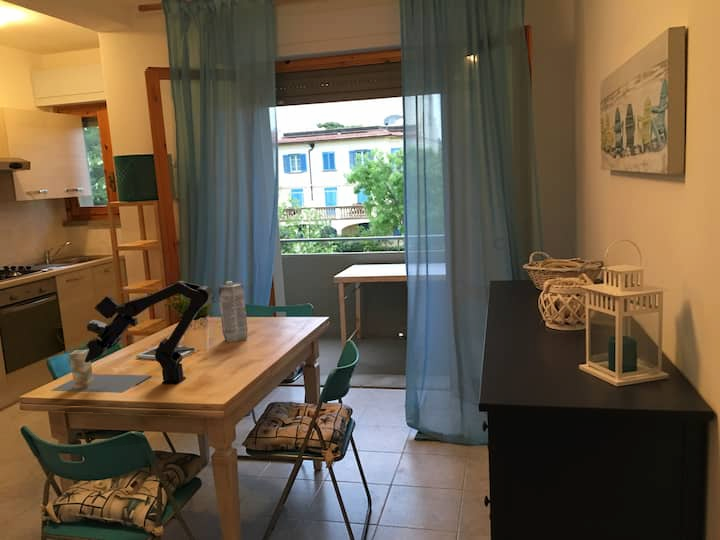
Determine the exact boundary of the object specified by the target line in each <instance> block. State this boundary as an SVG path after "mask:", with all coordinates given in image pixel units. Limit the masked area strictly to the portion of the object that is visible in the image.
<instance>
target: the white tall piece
mask: <svg viewBox="0 0 720 540" xmlns="http://www.w3.org/2000/svg"><path fill="white" fill-rule="evenodd" d="M88 352H89V348H88V349H76V350H73V351H72V352H70V353H69V361H70V367H71V374H72V380H73V382H74V389H76V388H88V387H90V386H91V385H92V384H93V383H94V381H93V374H94V373H93V367H92V362H91V361H92V360H91V361H89V362H87V363H86V362H85V358H86V356H87V354H88Z"/></svg>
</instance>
